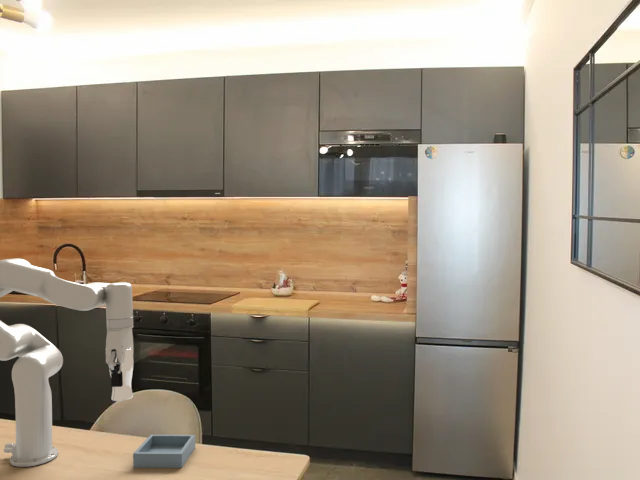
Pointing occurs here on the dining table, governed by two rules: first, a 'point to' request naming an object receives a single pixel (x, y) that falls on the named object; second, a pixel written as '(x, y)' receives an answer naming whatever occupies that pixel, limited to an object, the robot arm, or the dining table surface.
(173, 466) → the tray
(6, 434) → the dining table surface
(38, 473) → the dining table surface
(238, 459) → the dining table surface
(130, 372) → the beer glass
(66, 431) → the dining table surface
